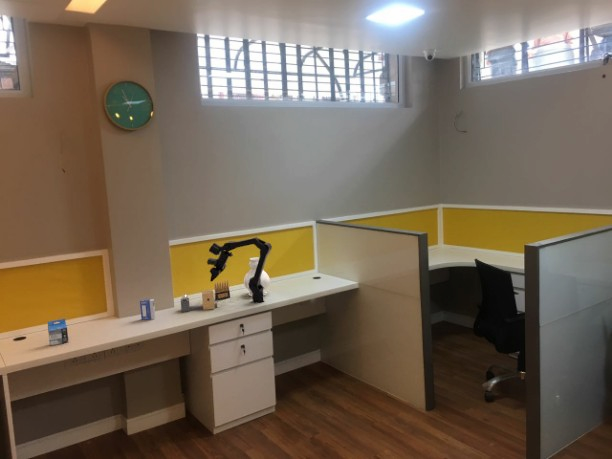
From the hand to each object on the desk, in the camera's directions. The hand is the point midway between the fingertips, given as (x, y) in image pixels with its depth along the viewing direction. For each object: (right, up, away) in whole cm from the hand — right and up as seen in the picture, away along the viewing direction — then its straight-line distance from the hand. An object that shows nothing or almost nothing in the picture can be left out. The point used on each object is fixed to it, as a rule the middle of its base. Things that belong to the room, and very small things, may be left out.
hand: (213, 279), depth 352 cm
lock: (0, -17, -15) cm, 22 cm away
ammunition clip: (+5, -14, +6) cm, 16 cm away
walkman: (-33, -21, -32) cm, 51 cm away
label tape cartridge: (-70, -28, -69) cm, 102 cm away
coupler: (-6, -17, -16) cm, 24 cm away
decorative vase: (+28, -12, +14) cm, 33 cm away
